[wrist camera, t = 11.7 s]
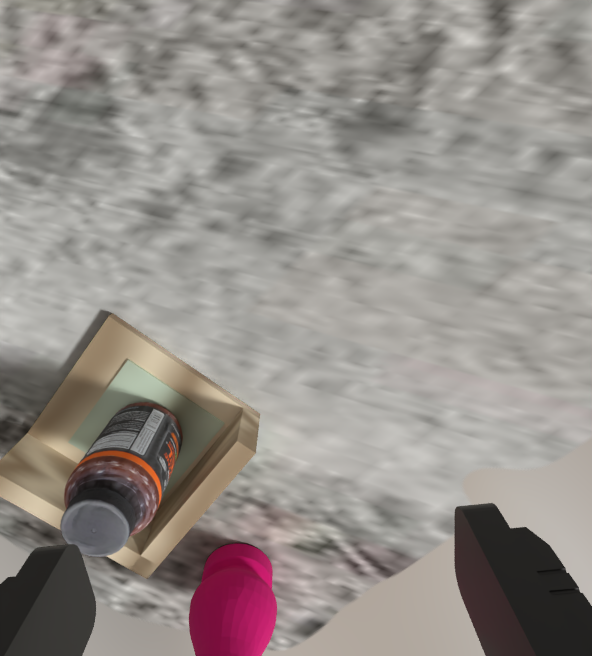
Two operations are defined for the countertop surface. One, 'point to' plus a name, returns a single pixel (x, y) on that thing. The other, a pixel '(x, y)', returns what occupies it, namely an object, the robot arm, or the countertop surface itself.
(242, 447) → the tray
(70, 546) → the robot arm
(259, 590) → the pepper mill
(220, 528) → the countertop surface
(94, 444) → the supplement bottle
